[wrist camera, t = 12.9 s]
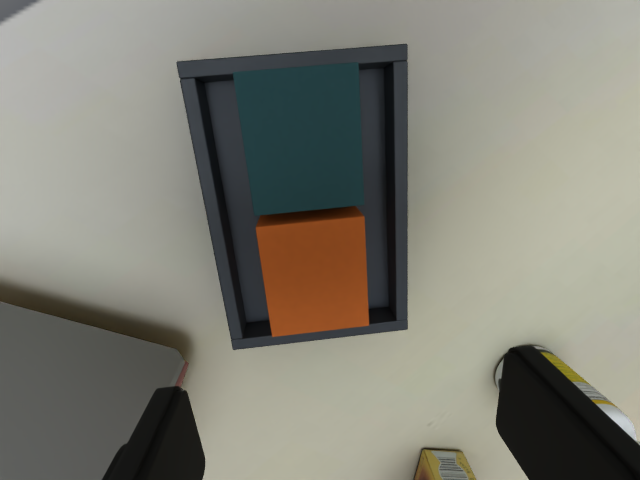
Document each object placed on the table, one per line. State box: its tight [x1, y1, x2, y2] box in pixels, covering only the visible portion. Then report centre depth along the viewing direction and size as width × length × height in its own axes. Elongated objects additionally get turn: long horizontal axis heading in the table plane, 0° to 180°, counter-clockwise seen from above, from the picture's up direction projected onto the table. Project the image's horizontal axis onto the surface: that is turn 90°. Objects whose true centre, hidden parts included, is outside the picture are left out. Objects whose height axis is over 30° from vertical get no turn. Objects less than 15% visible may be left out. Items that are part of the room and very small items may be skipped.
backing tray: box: [177, 44, 408, 350], centre depth 21 cm, size 18×12×3 cm
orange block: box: [256, 206, 369, 337], centre depth 21 cm, size 7×6×4 cm
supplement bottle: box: [495, 346, 640, 445], centre depth 24 cm, size 5×5×10 cm
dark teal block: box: [233, 62, 364, 216], centre depth 19 cm, size 7×6×4 cm
